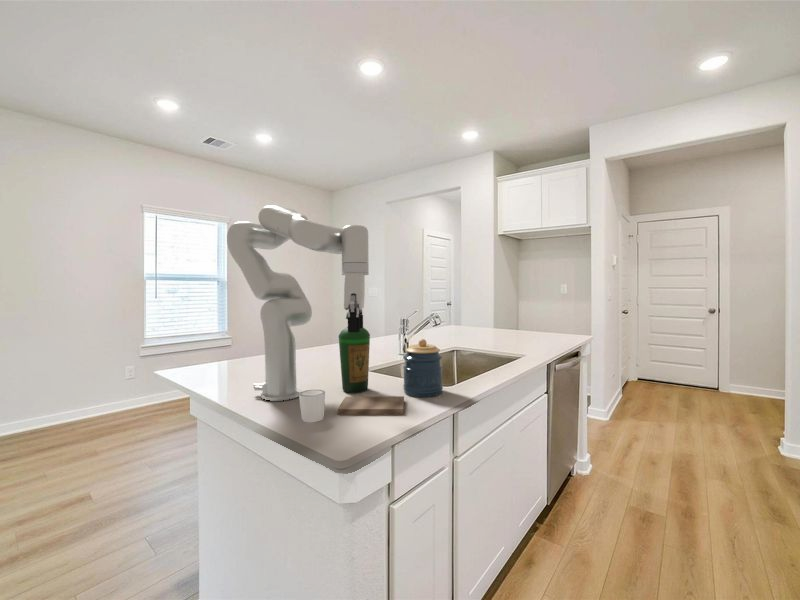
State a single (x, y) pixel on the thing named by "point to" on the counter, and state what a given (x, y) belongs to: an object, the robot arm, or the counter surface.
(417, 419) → the counter surface
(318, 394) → the shot glass
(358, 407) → the walnut board
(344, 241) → the robot arm
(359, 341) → the bottle
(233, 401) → the counter surface
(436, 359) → the canister
